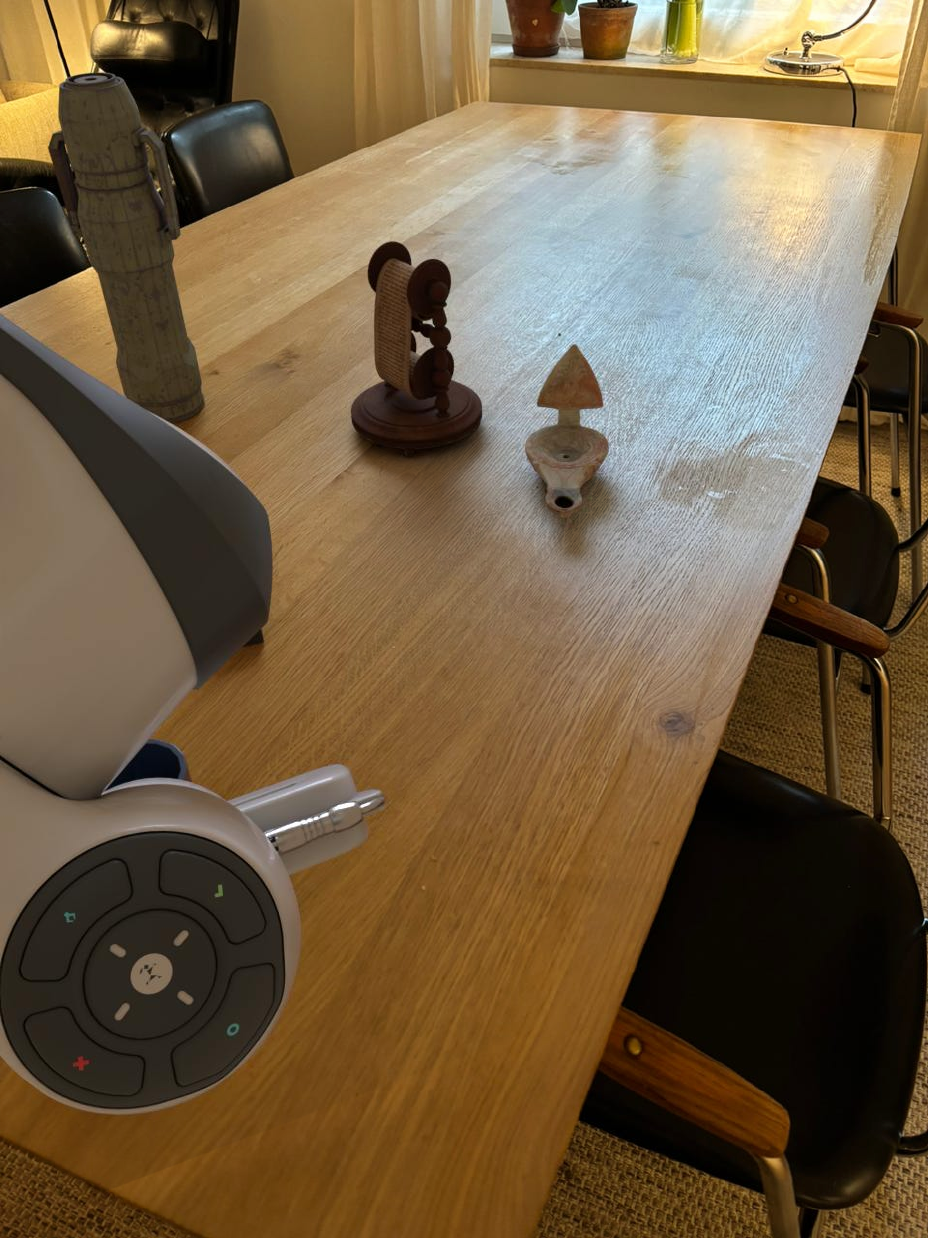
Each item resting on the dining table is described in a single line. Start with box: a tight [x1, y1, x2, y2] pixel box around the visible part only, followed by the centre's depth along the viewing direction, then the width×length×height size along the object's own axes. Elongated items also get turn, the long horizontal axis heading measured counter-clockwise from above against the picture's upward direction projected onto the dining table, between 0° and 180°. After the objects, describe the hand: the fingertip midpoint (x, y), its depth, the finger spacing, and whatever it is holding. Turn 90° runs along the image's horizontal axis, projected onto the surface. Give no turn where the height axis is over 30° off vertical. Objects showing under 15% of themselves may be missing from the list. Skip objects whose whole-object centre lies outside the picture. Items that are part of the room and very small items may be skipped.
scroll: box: [350, 240, 483, 459], centre depth 106 cm, size 15×15×20 cm
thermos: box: [47, 71, 205, 424], centre depth 106 cm, size 9×12×35 cm
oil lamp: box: [524, 343, 610, 519], centre depth 101 cm, size 9×21×10 cm, turn 173°
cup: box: [104, 738, 193, 792], centre depth 65 cm, size 6×6×9 cm
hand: (155, 856), depth 53 cm, fingers open, 8 cm apart
